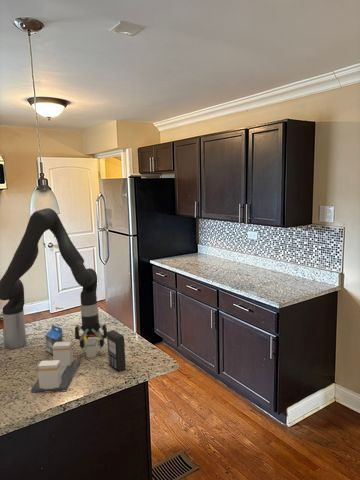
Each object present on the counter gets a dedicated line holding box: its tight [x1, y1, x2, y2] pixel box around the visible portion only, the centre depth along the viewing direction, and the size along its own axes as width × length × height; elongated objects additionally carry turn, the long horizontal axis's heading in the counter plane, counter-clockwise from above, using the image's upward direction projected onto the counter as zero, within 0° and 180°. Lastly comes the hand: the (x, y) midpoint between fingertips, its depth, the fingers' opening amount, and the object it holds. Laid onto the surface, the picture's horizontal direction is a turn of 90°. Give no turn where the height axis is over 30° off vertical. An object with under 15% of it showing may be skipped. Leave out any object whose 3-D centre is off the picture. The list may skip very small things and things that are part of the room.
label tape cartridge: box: [44, 324, 64, 355], centre depth 165 cm, size 9×4×12 cm, turn 52°
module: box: [85, 337, 99, 358], centre depth 163 cm, size 4×6×7 cm
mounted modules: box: [37, 341, 74, 388], centre depth 144 cm, size 7×21×9 cm, turn 2°
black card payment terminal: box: [106, 330, 126, 372], centre depth 150 cm, size 9×4×15 cm, turn 39°
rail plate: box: [30, 359, 81, 393], centre depth 145 cm, size 13×22×1 cm, turn 2°
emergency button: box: [83, 334, 107, 349], centre depth 176 cm, size 9×4×15 cm
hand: (92, 347), depth 163 cm, fingers open, 8 cm apart
